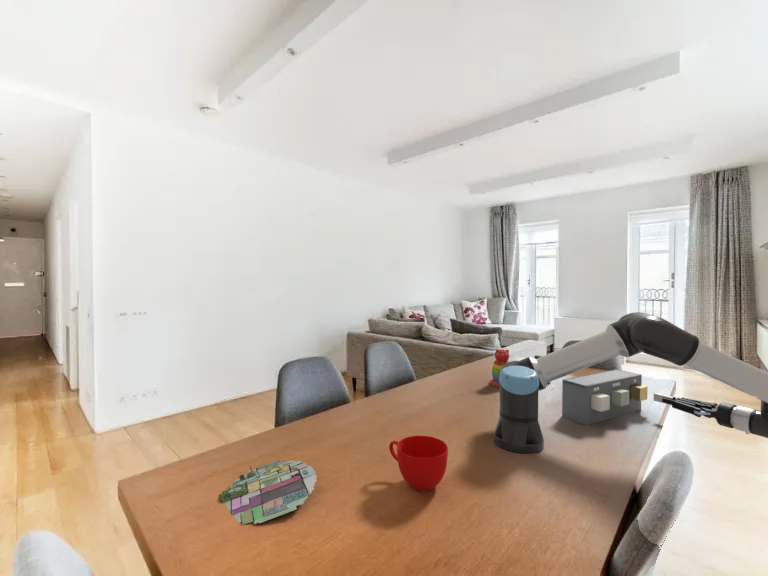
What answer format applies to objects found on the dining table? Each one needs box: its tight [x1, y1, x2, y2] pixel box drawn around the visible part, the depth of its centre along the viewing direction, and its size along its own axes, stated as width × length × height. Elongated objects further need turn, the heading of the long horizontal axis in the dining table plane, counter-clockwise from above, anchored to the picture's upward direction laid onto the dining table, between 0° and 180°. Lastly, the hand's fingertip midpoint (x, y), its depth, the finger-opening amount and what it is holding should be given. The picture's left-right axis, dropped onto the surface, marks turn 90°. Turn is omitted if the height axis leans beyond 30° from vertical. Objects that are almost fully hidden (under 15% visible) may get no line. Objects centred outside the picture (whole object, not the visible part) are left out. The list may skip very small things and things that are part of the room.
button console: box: [561, 368, 642, 426], centre depth 147 cm, size 10×34×14 cm, turn 118°
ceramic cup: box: [388, 435, 449, 493], centre depth 98 cm, size 13×17×10 cm
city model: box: [219, 459, 318, 526], centre depth 92 cm, size 25×23×6 cm
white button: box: [591, 393, 610, 412], centre depth 136 cm, size 6×5×5 cm
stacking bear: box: [489, 348, 510, 388], centre depth 184 cm, size 11×10×18 cm
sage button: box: [611, 388, 629, 406], centre depth 142 cm, size 6×5×5 cm
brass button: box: [630, 384, 648, 402], centre depth 148 cm, size 6×5×5 cm
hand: (654, 396), depth 141 cm, fingers closed
